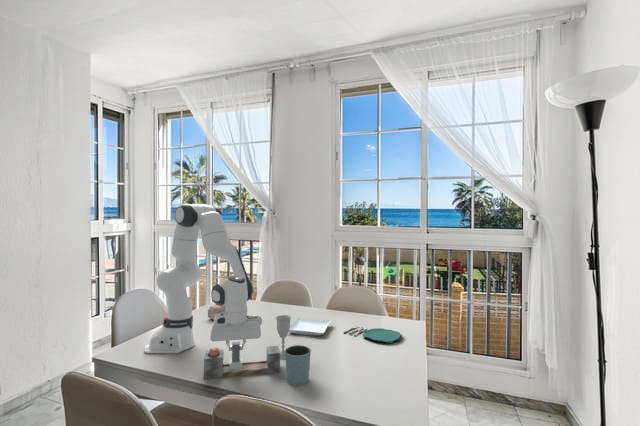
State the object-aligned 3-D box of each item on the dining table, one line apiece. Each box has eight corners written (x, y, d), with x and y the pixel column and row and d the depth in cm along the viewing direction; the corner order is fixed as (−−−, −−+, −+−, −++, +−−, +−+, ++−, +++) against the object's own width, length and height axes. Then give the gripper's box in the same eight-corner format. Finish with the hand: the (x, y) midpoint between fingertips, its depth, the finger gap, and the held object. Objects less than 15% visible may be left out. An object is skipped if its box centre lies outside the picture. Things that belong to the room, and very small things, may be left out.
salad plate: (285, 335, 186) (285, 328, 186) (297, 322, 207) (297, 317, 207) (323, 339, 181) (323, 332, 181) (331, 326, 202) (332, 320, 202)
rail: (203, 379, 135) (204, 358, 135) (205, 370, 143) (206, 350, 143) (280, 372, 142) (280, 353, 142) (277, 363, 150) (278, 345, 150)
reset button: (208, 361, 138) (209, 351, 138) (209, 357, 141) (209, 347, 141) (218, 360, 139) (218, 350, 139) (218, 356, 142) (219, 347, 142)
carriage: (229, 370, 139) (229, 346, 139) (229, 365, 144) (230, 341, 144) (241, 369, 140) (242, 345, 140) (241, 364, 145) (242, 340, 145)
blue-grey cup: (310, 374, 141) (310, 345, 141) (310, 386, 131) (310, 355, 131) (285, 374, 141) (285, 345, 141) (283, 386, 131) (284, 355, 130)
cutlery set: (392, 348, 170) (392, 343, 170) (340, 335, 187) (340, 331, 187) (407, 336, 186) (407, 332, 186) (358, 326, 203) (358, 322, 204)
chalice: (283, 352, 162) (284, 314, 162) (293, 356, 158) (294, 317, 158) (271, 357, 157) (272, 317, 157) (282, 361, 152) (283, 320, 152)
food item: (216, 321, 206) (216, 305, 206) (206, 319, 210) (206, 303, 210) (232, 315, 218) (232, 300, 218) (222, 313, 222) (222, 298, 221)
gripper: (261, 312, 147) (261, 345, 148) (211, 315, 143) (211, 348, 143) (262, 317, 141) (261, 351, 141) (210, 320, 137) (209, 354, 137)
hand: (235, 349), depth 142 cm, fingers closed on carriage, 3 cm apart
